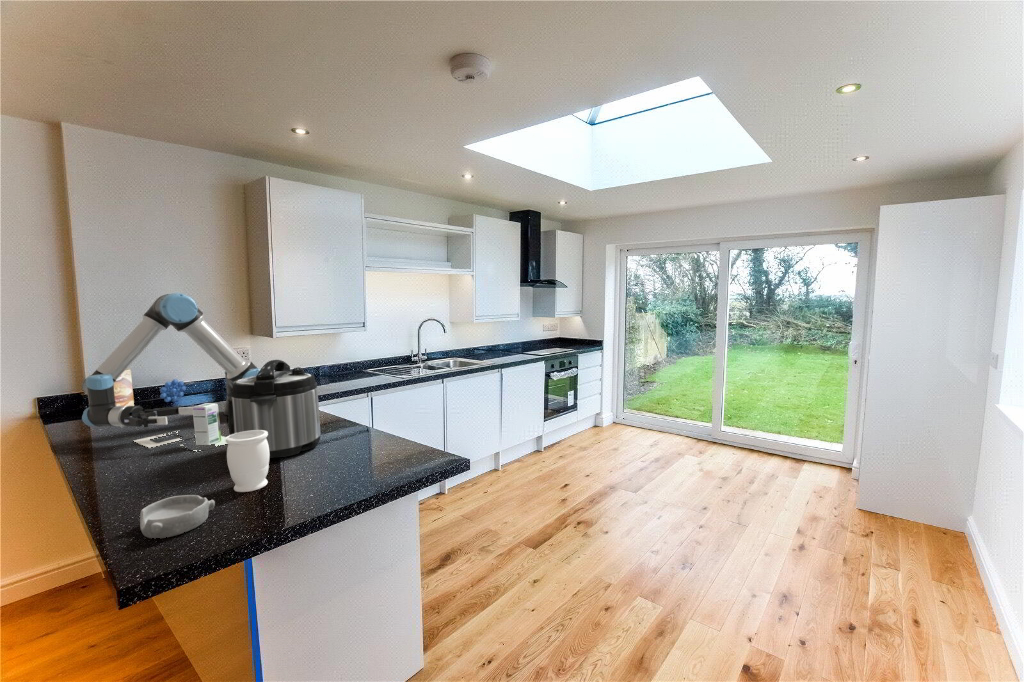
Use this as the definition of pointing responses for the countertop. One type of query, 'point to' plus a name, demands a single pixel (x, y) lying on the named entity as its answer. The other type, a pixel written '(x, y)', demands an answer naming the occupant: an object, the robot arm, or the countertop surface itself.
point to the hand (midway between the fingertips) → (181, 415)
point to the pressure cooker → (277, 408)
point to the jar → (248, 459)
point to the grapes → (172, 390)
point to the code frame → (149, 444)
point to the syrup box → (206, 424)
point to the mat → (222, 442)
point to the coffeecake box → (123, 389)
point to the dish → (174, 515)
